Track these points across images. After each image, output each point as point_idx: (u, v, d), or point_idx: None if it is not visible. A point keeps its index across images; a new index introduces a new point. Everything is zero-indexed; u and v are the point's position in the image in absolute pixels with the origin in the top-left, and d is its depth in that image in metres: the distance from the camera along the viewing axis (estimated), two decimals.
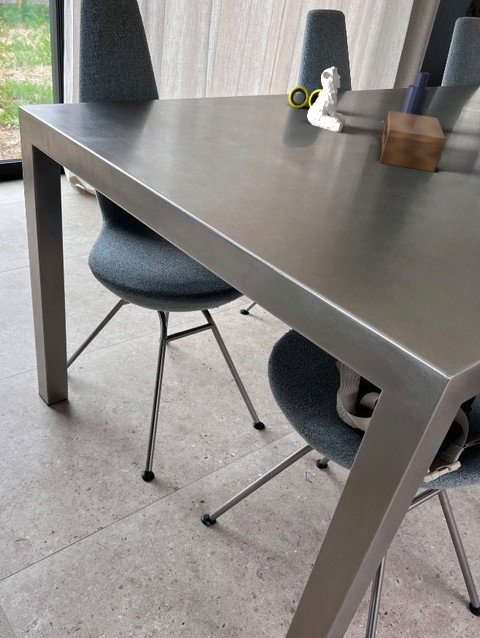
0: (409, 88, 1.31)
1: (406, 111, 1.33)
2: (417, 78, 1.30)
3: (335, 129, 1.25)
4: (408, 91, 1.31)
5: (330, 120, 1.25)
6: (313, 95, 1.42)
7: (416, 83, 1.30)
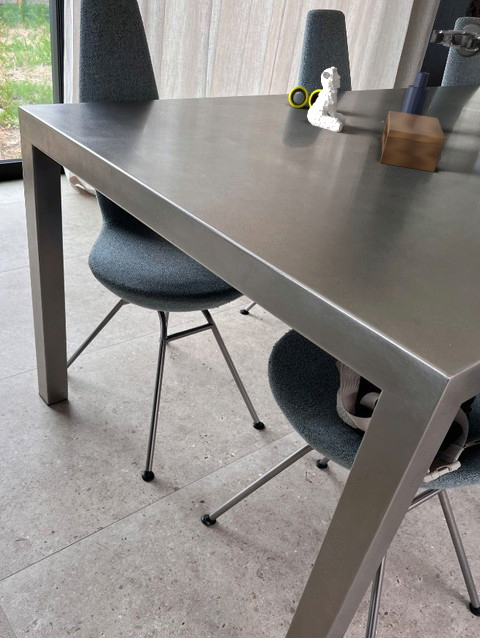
0: (409, 88, 1.31)
1: (406, 111, 1.33)
2: (417, 78, 1.30)
3: (335, 129, 1.25)
4: (408, 91, 1.31)
5: (330, 120, 1.25)
6: (313, 95, 1.42)
7: (416, 83, 1.30)
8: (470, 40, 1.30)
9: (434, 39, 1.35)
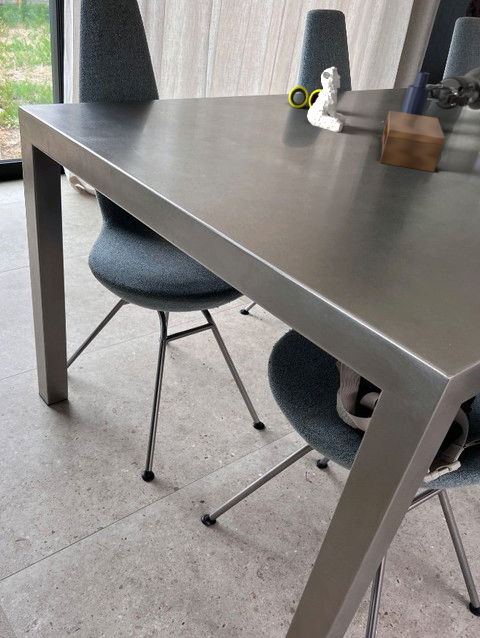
0: (409, 88, 1.31)
1: (406, 111, 1.33)
2: (417, 78, 1.30)
3: (335, 129, 1.25)
4: (408, 91, 1.31)
5: (330, 120, 1.25)
6: (313, 95, 1.42)
7: (416, 83, 1.30)
8: (447, 96, 1.35)
9: None
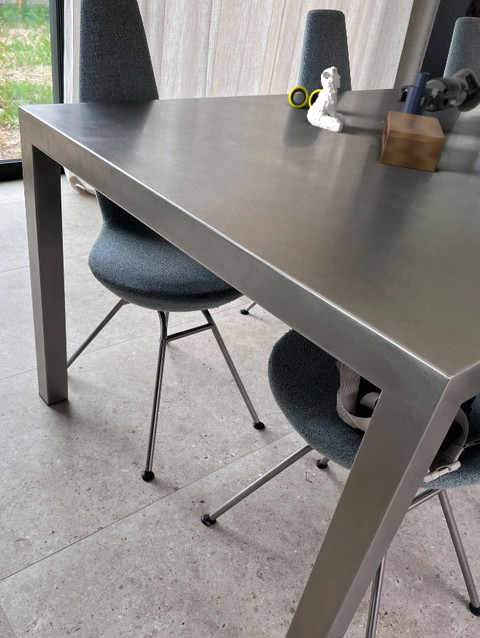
0: (409, 88, 1.31)
1: (406, 111, 1.33)
2: (417, 78, 1.30)
3: (335, 129, 1.25)
4: (408, 91, 1.31)
5: (330, 120, 1.25)
6: (313, 95, 1.42)
7: (416, 83, 1.30)
8: (423, 98, 1.29)
9: (400, 98, 1.32)
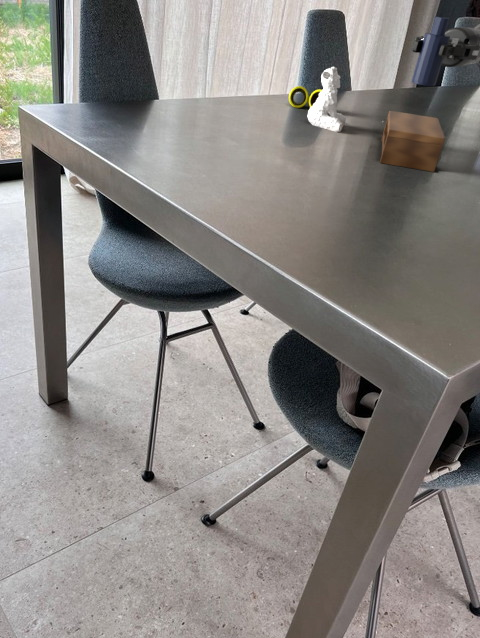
0: (426, 36, 1.15)
1: (422, 63, 1.17)
2: (435, 24, 1.13)
3: (335, 129, 1.25)
4: (425, 39, 1.15)
5: (330, 120, 1.25)
6: (313, 95, 1.42)
7: (434, 29, 1.14)
8: (442, 46, 1.13)
9: (415, 47, 1.16)
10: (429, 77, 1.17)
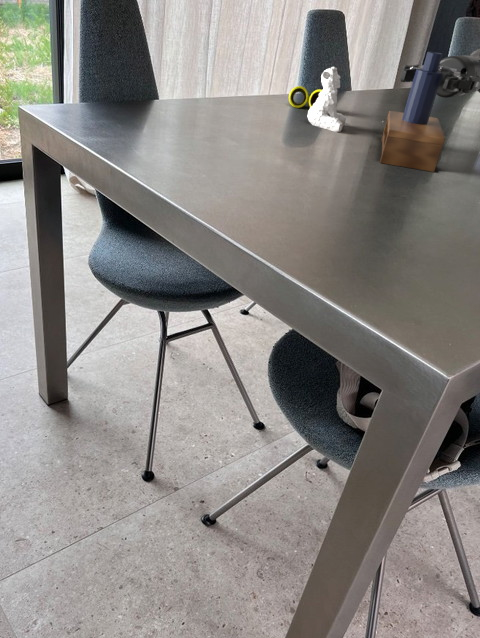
0: (417, 72, 1.07)
1: (413, 100, 1.09)
2: (427, 59, 1.06)
3: (335, 129, 1.25)
4: (416, 76, 1.07)
5: (330, 120, 1.25)
6: (313, 95, 1.42)
7: (426, 65, 1.06)
8: (446, 80, 1.04)
9: (403, 77, 1.09)
10: (421, 115, 1.10)
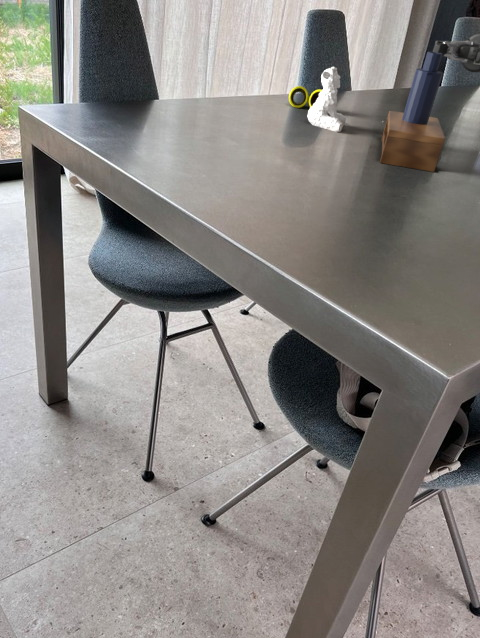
0: (417, 72, 1.07)
1: (413, 100, 1.09)
2: (427, 59, 1.06)
3: (335, 129, 1.25)
4: (416, 76, 1.07)
5: (330, 120, 1.25)
6: (313, 95, 1.42)
7: (426, 65, 1.06)
8: (479, 52, 1.10)
9: (437, 51, 1.15)
10: (421, 115, 1.10)
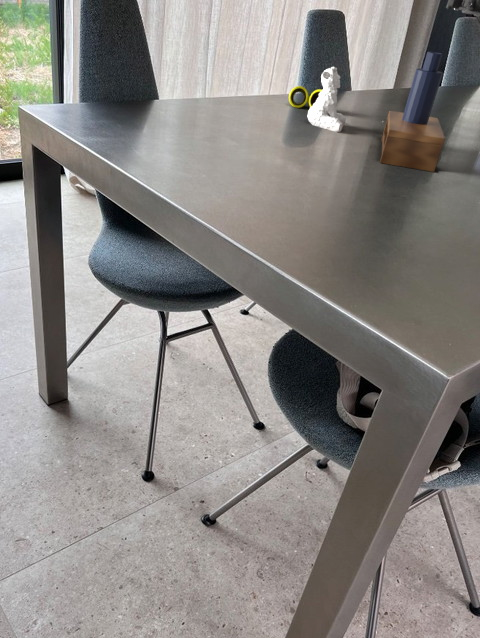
0: (417, 72, 1.07)
1: (413, 100, 1.09)
2: (427, 59, 1.06)
3: (335, 129, 1.25)
4: (416, 76, 1.07)
5: (330, 120, 1.25)
6: (313, 95, 1.42)
7: (426, 65, 1.06)
8: None
9: (451, 3, 1.10)
10: (421, 115, 1.10)
